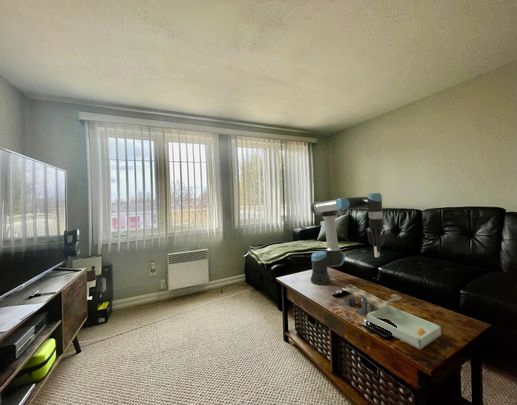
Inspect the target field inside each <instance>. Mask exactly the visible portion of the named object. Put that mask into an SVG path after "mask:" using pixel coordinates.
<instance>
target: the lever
mask: <svg viewBox="0 0 517 405" xmlns="http://www.w3.org/2000/svg"><path fill="white" fill-rule="evenodd" d="M345 291H346V292H348V293H350V294H352V295H354V296H355V297H357V298H360V299H361V297H365V298H366V303H369V304H370V303H371V304H373V305H375V307H376V308H377V309H379V308H380V309H382V308H384V307H386V306H387V305H389V304H392V303H394V302H396V301H400V300H401V299H403V297H402V296H400V295H398V294H396V293H394V294H391V295H390V298H389V299H388V300H383V299H381V298H379V297H377V296H373V295H371V294H372V293H368V292H367V291H365V290H364V289H361V288H360V287H359V288H358V287H356V286H355V285H353V284H347V285H345Z"/></svg>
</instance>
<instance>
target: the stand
mask: <svg viewBox="0 0 517 405" xmlns="http://www.w3.org/2000/svg"><path fill="white" fill-rule="evenodd" d="M370 294H371V295H373V296H375V294H374V293H370ZM375 297H376V296H375ZM360 299H361V308H359V309H358V308H357V309H356V310H355V313H356V314H359V315H361V316H362V317H365V318H366V314H368V313H370V312H373V311H375V310H377V309H376V306H375V305H373V304H371V303H369V305H367V304H368V302H367V301H366V298H365V297H361V298H360ZM345 305H346V306H349V307H351V306H354V305H356V296H353V295H349V296H346V297H345Z"/></svg>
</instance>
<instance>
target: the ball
mask: <svg viewBox="0 0 517 405" xmlns="http://www.w3.org/2000/svg"><path fill="white" fill-rule="evenodd" d="M417 333H418V334H419V335H420V336H422V335H423V334H425V333H426V332H425V330H424V329H422V328H418V329H417Z"/></svg>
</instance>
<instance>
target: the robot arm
mask: <svg viewBox="0 0 517 405" xmlns="http://www.w3.org/2000/svg"><path fill="white" fill-rule="evenodd" d="M382 197H383V196H382V194H381V193H379V192H378V193H377V192H375V193H373V192H372V193H368V194H367V196H356V197H355V196H354V197H339V198H336V199H333V200H316V201H314V202H312V204H311V206H310V211H311V212H312V213H313V214H314V215H316V216H321V218H322V219H323V220H324V221H323V223H324V230H325V238H326V249H325V250H319V251H318V250H317V251H314V252H313V253H312V254H311V268H312V270H311V271H312V272H311V276H310V283H312V282H313V283H315V284H314V285H317V284H320V285H319V286H326V284H327V285H329V283H330V284H331V277H330V275H329V272H328V268H333V267H340V266H342V265H343V264H344V263H345V261H346V260H345V258H346V257H345V254H344V252H343V251H342V250H341V248H340V247H339V243H338V235H337V234H338V233H337V232H338V231H337V225H336V219H335V218H336V217H337V214H338V213H339V211H344V210H357V209H367V210H368V213H367V214H368V218H369V219H368V225H369V226H368V227H367V228H365V230H364V231H365V232H366V235H367V239H368V243H369V245H372V250H373V253H374V257H375V258H380V253H381V251H382V250H381V247H383V246H384V245H385V239H386V237H387V234H388V230H385V229H384V226H383V225H384V221H383V220H384V219H383V217H384V216H383V198H382ZM313 283H312V284H313Z"/></svg>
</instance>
